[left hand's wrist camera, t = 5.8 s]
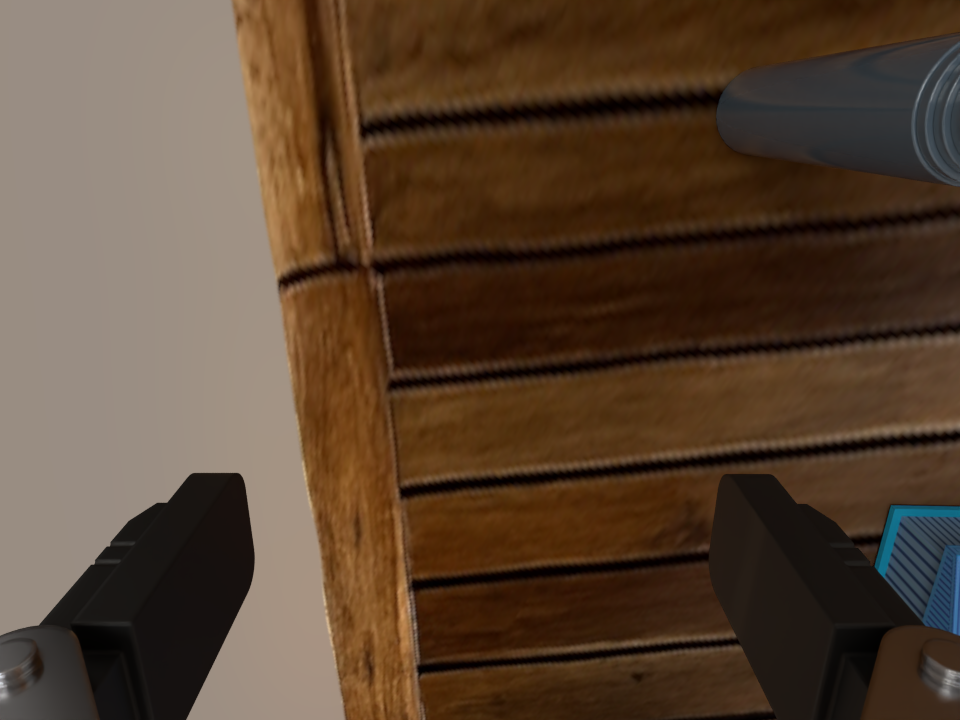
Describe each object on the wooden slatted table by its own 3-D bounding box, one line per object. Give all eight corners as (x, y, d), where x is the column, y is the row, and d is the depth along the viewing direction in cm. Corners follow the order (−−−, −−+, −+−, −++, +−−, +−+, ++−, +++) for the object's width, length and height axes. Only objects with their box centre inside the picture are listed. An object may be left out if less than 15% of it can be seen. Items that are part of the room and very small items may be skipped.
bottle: (699, 130, 41) (984, 151, 18) (747, 49, 39) (1127, -42, 16) (767, 169, 42) (1124, 238, 19) (817, 92, 40) (1273, 61, 17)
